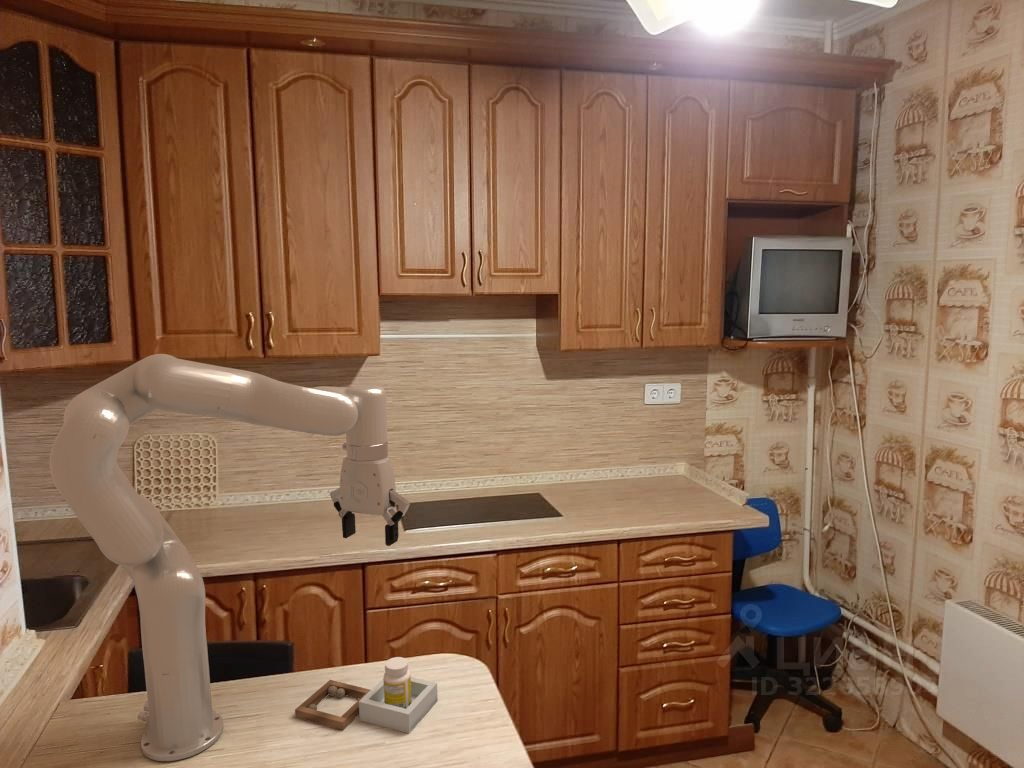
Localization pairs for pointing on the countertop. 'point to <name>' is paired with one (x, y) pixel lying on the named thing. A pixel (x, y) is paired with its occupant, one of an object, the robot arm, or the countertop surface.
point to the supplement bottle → (397, 683)
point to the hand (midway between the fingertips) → (370, 539)
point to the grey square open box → (397, 717)
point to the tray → (311, 714)
